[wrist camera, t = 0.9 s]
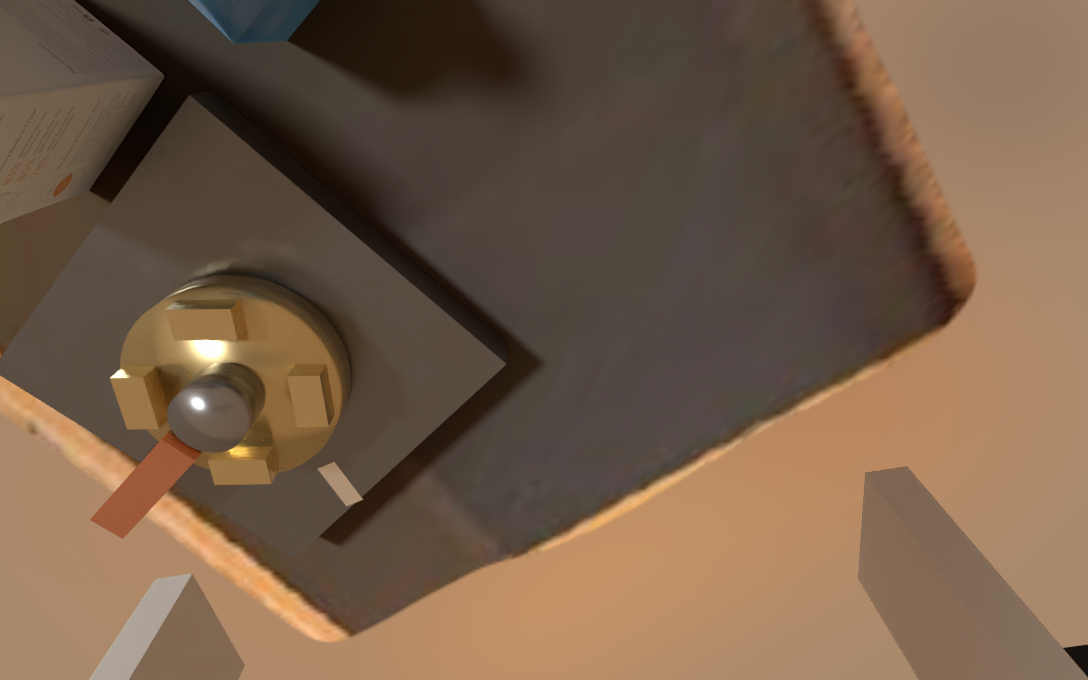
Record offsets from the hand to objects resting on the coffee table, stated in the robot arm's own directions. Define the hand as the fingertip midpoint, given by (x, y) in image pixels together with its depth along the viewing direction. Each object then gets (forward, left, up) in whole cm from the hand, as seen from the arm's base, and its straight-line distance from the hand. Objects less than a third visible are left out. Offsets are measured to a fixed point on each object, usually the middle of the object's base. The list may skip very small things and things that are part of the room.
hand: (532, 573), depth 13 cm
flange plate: (-6, -16, -25) cm, 30 cm away
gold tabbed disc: (-6, -19, -22) cm, 30 cm away
